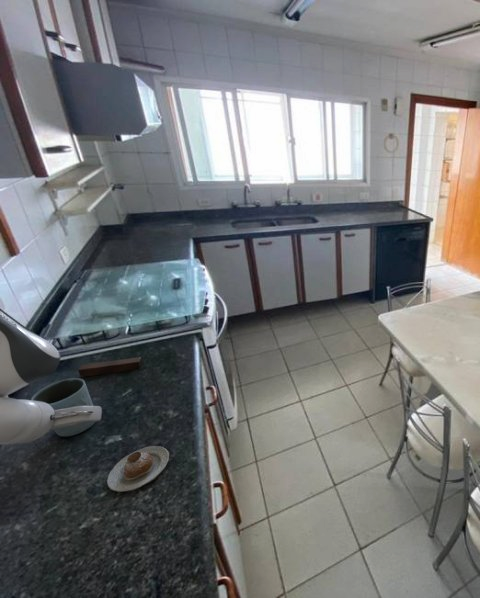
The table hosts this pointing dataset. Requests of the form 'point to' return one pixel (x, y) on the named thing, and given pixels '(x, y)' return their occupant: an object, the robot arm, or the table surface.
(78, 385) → the grey green pot
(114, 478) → the pastry
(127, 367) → the bar
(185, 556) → the table surface
